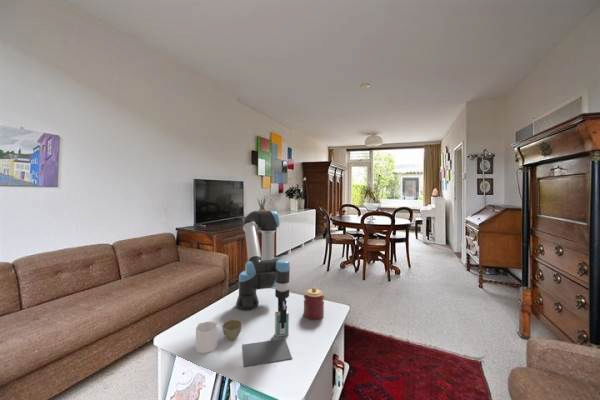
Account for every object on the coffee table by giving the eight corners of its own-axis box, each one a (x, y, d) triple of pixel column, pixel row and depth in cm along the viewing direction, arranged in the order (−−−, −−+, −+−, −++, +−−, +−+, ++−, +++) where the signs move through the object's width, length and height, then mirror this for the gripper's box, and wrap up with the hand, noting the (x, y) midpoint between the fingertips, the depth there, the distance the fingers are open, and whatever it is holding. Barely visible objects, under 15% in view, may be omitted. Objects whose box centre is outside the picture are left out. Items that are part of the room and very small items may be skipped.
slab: (274, 333, 133) (275, 312, 133) (287, 331, 135) (287, 310, 135) (275, 336, 131) (276, 314, 130) (288, 334, 132) (288, 313, 132)
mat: (242, 345, 123) (242, 344, 123) (285, 339, 129) (285, 338, 129) (243, 367, 108) (243, 366, 108) (292, 359, 114) (292, 358, 114)
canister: (301, 318, 150) (302, 290, 150) (305, 309, 163) (305, 282, 162) (322, 321, 148) (323, 292, 147) (324, 311, 161) (325, 284, 160)
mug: (221, 346, 122) (221, 326, 122) (202, 356, 114) (202, 335, 114) (207, 336, 130) (207, 317, 130) (189, 345, 122) (189, 325, 122)
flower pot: (219, 336, 130) (219, 323, 130) (236, 330, 137) (236, 317, 136) (227, 346, 123) (227, 332, 122) (245, 338, 129) (245, 325, 129)
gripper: (273, 284, 139) (272, 324, 140) (278, 295, 123) (277, 341, 124) (286, 282, 141) (285, 322, 142) (292, 294, 125) (291, 339, 126)
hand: (281, 331), depth 133 cm, fingers closed on slab, 3 cm apart
